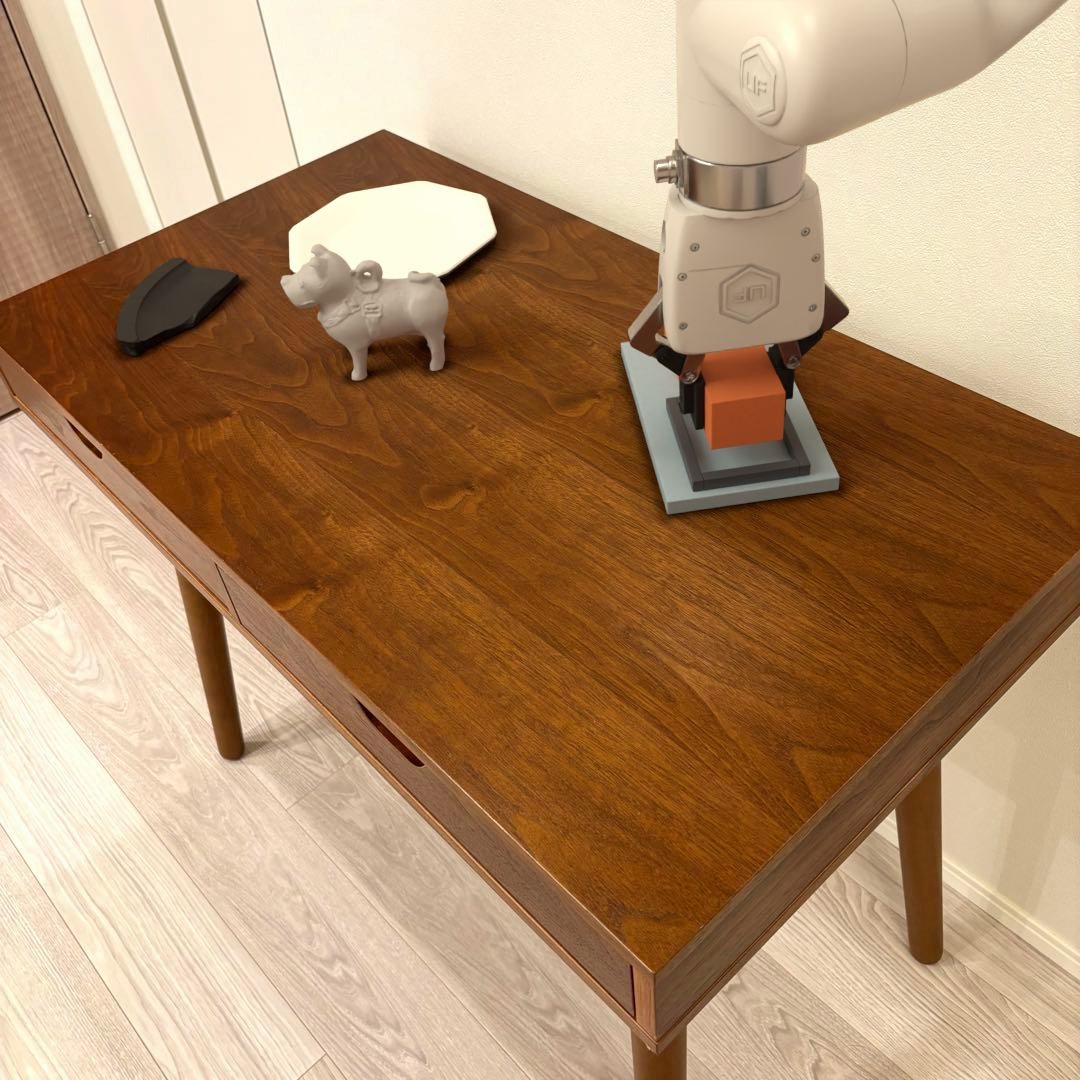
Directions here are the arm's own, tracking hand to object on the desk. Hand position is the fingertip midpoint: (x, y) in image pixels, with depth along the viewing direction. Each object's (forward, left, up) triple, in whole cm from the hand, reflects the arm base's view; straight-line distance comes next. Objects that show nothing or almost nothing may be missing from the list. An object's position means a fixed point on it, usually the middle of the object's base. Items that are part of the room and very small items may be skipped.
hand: (735, 410), depth 80 cm
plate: (+24, -38, -4) cm, 46 cm away
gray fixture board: (0, -4, -4) cm, 6 cm away
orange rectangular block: (0, 0, 0) cm, 0 cm away
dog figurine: (+25, -18, -4) cm, 32 cm away
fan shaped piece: (+45, -32, -4) cm, 56 cm away
